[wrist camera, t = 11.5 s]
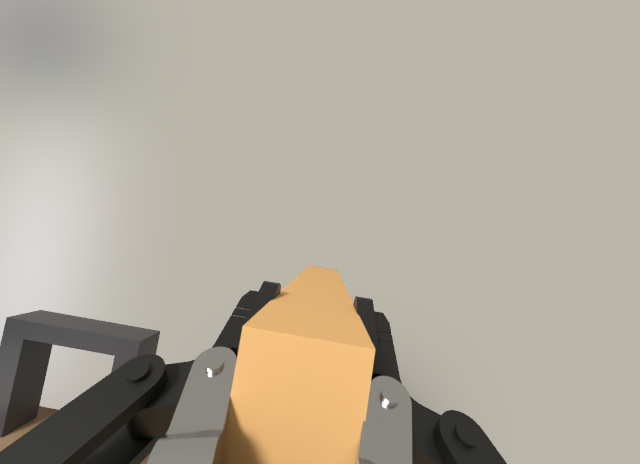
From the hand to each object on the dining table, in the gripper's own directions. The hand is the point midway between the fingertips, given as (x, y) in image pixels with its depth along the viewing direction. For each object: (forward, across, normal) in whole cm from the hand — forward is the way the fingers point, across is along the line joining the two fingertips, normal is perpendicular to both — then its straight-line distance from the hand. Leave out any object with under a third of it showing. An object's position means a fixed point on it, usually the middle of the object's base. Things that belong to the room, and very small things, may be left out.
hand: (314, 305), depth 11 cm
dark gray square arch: (-1, +16, +14) cm, 22 cm away
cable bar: (+4, 0, +6) cm, 8 cm away
